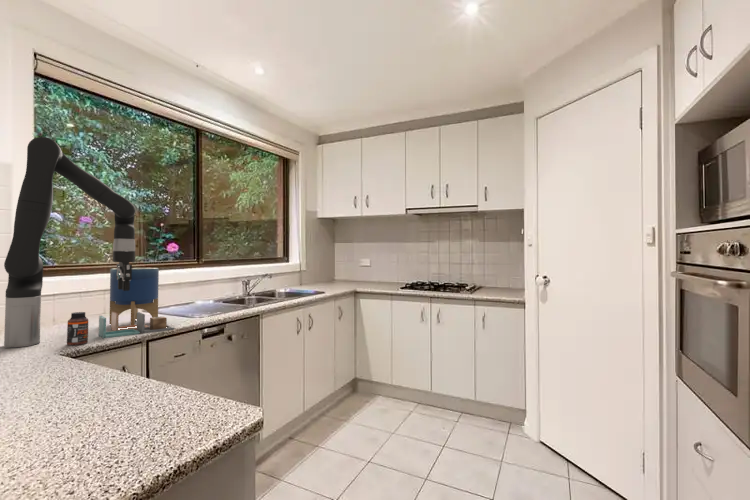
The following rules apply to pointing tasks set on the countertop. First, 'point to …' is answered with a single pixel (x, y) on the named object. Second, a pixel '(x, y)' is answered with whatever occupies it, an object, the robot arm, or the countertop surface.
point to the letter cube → (158, 323)
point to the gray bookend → (143, 329)
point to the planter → (135, 293)
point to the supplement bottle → (77, 329)
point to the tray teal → (113, 333)
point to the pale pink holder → (115, 323)
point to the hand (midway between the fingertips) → (123, 290)
